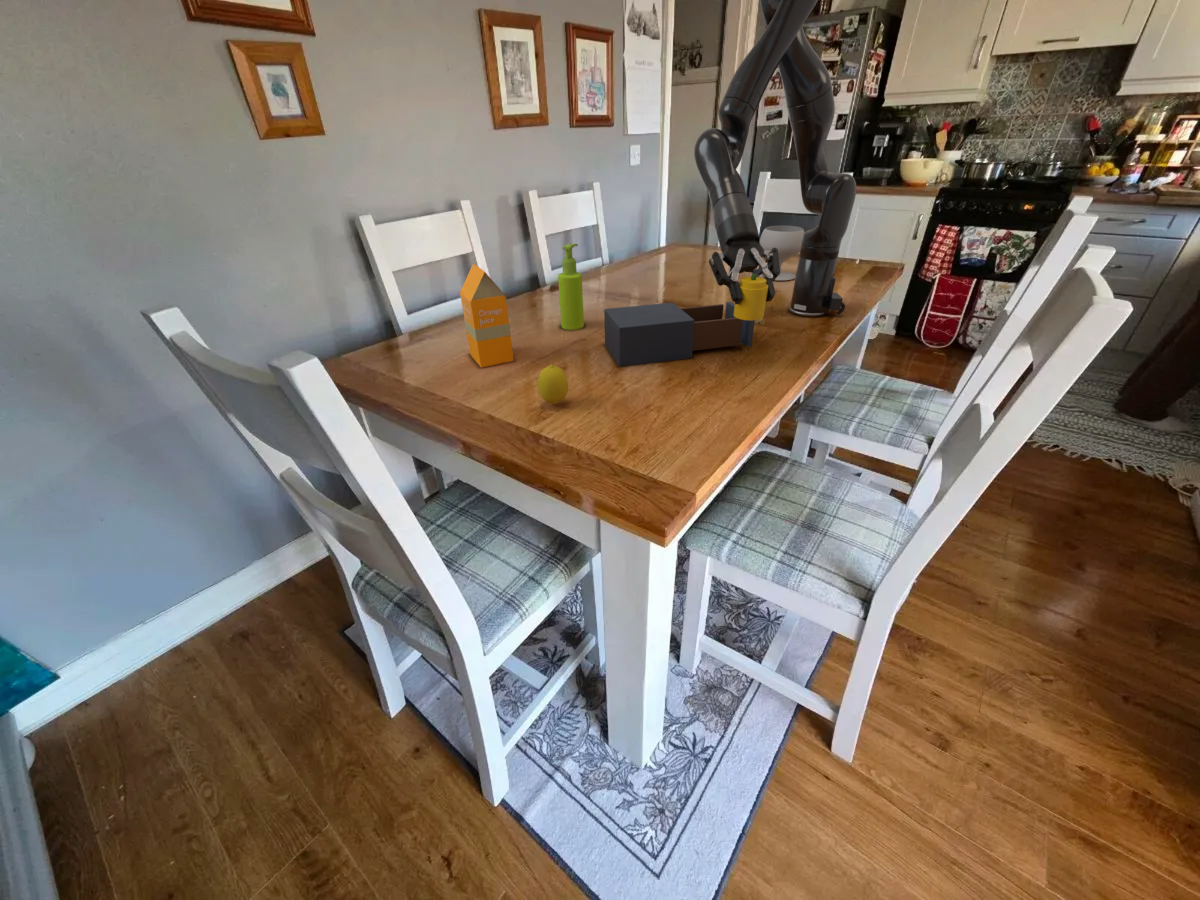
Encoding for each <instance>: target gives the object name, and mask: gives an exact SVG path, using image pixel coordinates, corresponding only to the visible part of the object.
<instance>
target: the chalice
mask: <svg viewBox="0 0 1200 900" xmlns="http://www.w3.org/2000/svg"><path fill="white" fill-rule="evenodd" d="M804 233H805V230H804V228H803V227H801V226H797V225H769V226H766V227H765V228H764V229H763V231H762V233H761V235H760V237H759V240H760V245H761V246H762V247H763V249H764V250H772V249H773V248H777V249H778V255H779V264H780V274H779V276H777V278H776V279H775V280H774V281H790V280H795V278H796V273H793V272H789V271H785V270H782V266H783V263H784V262H785V261H787V260H788V259H790V258H791V257H794V256H796V255H798V254H800V249H801V244H802V238H803V234H804Z"/></svg>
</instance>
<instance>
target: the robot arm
mask: <svg viewBox="0 0 1200 900" xmlns="http://www.w3.org/2000/svg"><path fill="white" fill-rule="evenodd" d="M818 1H819V0H759V4H760V8H761V12H762V16H763V19H764V23H765V25H766V28H765V30H764V31H763V33H762V35H761V36H760V37H759V39H758V40H757V41H756V42H755V44H754V45H753V47H752V48H751V49H750V51H748V53H747V54H746V56H744V58H743V59H742V61H741V62H740V63H739V66H738V67H737V69H736V70H735V73H734V74H733V76H732V78H731V80H730V82H729V84H728V87H727V89H726V90H725V93H724V95H723V98H722V100H721V102H720V105H719V108H718V111H717V116H718V119H719V123H720V129H719V128H716V127H712V128H711V127H710V128H707V129H705V130H704V131H702V132H701V134H700V135H699V136H698V137H697V139H696V141H695V144H694V149H693V156H694V161H695V164H696V167H697V170H698V172H699V175H700V177H701V180H702V181H703V183H704V186H705V188H706V191H707V192H708V197H709V198H708V199H709V202H710V207H711V211H712V215H713V224H714V229H715V232H716V235H717V239H718V244H719V247H720V251H721V252H720V253H719V252H718V251H713V252H712V253H711V256H710V258H709V259H708V264H709V266H710V269H711V272H712V274H713V276H714V278H715V281H716V284H717V285H718V286H719V287H722V286H725V287H727V288H728V290H729V295H730V298H731V300H732V301H731V302H732V303H734V304H740V303H741V302H742V300H743V295H742V292H741V288H740V284H739V283H740V281H738V280H739V274H742V273H751V275H752V274H756V275H757V276H756V277H761V278H764V279H766V284H767V285H768V292H767V298H766V303H768V302H771V301H772V300H773V299H774V298H775V295H776V289H775V284H774V281H776V280H775V279H776V278H777V276H779V274H780V264H779V255H778V249H777V248H773V249H772V250H764V249H763V247H762V246H761V245H760V233H759V229H758V226H757V223H756V219H755V214H754V210H753V208H752V205H751V203H750V200H749V198H748V193H747V190H746V187H745V184H744V180H743V178H742V176H741V175H740V173H739V171H738V170H737V169H738V168H739V165H740V163H741V161H742V158H743V156H744V153H745V147H746V144H747V139H748V135H749V131H750V125H751V122H752V120H753V119H754V116H755V114H756V112H757V109H758V106H759V105H760V103H761V100H762V98H763V96H764V94H765V92H766V90H767V88H768V86H769V84H770V82H771V79H772V78H773V76H774V74H775V72H776V71H777V69H778V71H779V75H780V80H781V84H782V89H783V92H784V99H785V105H786V109H787V114H788V119H789V124H790V128H791V131H792V136H793V141H794V146H795V153H796V158H797V164H798V173H799V183H800V194H801V199H802V203H803V206H804V208H805V209H806V211H808V212H809V213H811V214H813V215H814V214H815V215H819V216H820V217H819V222H818V223H817V226H815V227H814V228H811V229H808V230H806V231H804V234H803V238H802V244H801V249H800V252H799V256H798V262H797V267H796V272H795V276H796V278H794V283H793V289H792V296H791V301H790V306H789V312H790V313H792V314H794V315H797V316H801V317H810V318H811V317H812V318H815V317H822V316H829V312H830V311H836V314H837V315H839V316H840V315H841V314H842V313H843V312H844V311H845V310H846V304H845V303H844V302H843V297H842V296H841V295H840V294H839V293H838V292H834V288H835V284H836V277H835V272H836V268H837V263H838V258H839V253H840V248H841V244H842V241H843V238H844V236H845V234H846V233H847V230H848V226H849V223H850V220H851V217H852V212H853V209H854V204H855V201H856V195H857V182H856V179H855V177H854V176H853V175H852V174H850V173H844V172H843V173H842V172H830V169H829V167H828V161H827V156H826V144H827V139H828V137H829V133H830V130H831V128H832V125H833V122H834V119H835V118H834V117H835V113H836V112H835V111H836V103H835V97H834V89H833V83H832V79H831V78H832V77H831V75H830V72H829V70H828V69H827V67H826V65H825V63H824V62H823V60H822V59H821V58H820V56H819V55H818V53H817V52H816V51H815V50H814V48H813V47H812V45H811V44H810V42H809V40H808V38H807V36H806V34H805V31H804V27H803V26H804V24H805V22H806V21H807V19H808V18H809V17H810V14H811V13H812V12H813V10H814V8H815V7H816V4H817V3H818ZM763 258H764V259H763ZM724 263H725V264H726V265H727V266H728V267H729V270H728V273H727V270H726V268H725V265H724Z"/></svg>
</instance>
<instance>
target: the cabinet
mask: <svg viewBox="0 0 1200 900" xmlns="http://www.w3.org/2000/svg"><path fill="white" fill-rule="evenodd" d="M680 308H681V307H679V306H678V305H677V304H675V303H674V302H664V303H655V304H644V305H642V304H641V305H633V306H621V307H612V308H611V307H610V308H604V310H603V311H604V312H603V313H604V314H603V315H604V317H603V318H604V319H603V320H604V346H605V347H606V348H607V350H608V352H609V353H610V355H611V356H612V358H613V359H614V361H615V362H616V364H617V365H618V366H619V367H629V366H635V365H644V364H653V363H662V362H669V361H671V362H672V361H680V360H689V359H692V358H693V351H692V349H693V336H694V323H695V320H694V319H693V318H691V317H690V316H689V315H688V314H686V313H685V312H684V311H683V310H681V309H680Z"/></svg>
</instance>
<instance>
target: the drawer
mask: <svg viewBox="0 0 1200 900" xmlns="http://www.w3.org/2000/svg"><path fill="white" fill-rule="evenodd" d="M734 306H735V302H733V301H726V303H725V307H724V304H723V303H718V304H710V305H700V306H699V305H698V306H688V307H679V308H680V309H681V310H683V311H684V312H685V313H686V314H688V315H689V316H690V317H691V318H693V319H694V320H695V323H694V336H693V349H692V352H693V351H701V350H709V349H719V348H729V347H738V346H741V344H742V345H743V346H744V347H746V348H749V347H752V346H753V345H752V344H753V337H754V329H755V325H759V326H764V325H765V324H766V320H765V319H764V318H762V319H760V320H752V321H750V320H742V319H738V318H736V317H734V315H733V314H734ZM724 308H725V312H724ZM723 315H724V318H723Z"/></svg>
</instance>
